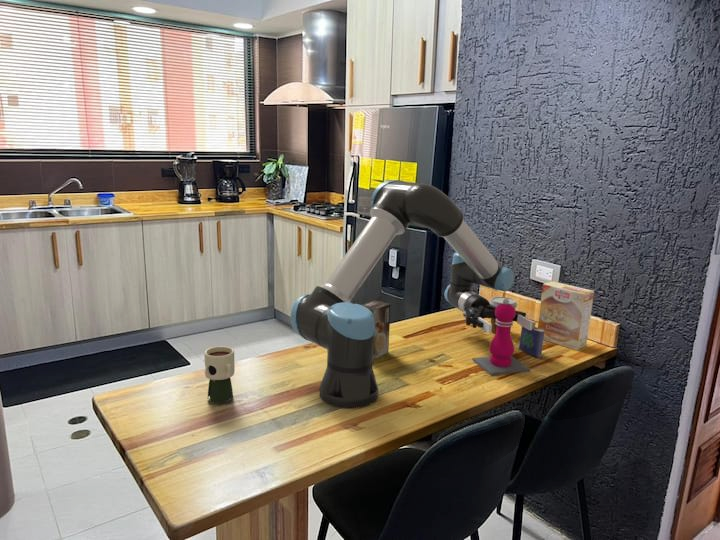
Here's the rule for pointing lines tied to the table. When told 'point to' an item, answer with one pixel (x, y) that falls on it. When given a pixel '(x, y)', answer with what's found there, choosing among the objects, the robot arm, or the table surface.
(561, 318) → the coffeecake box
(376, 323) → the coffee box
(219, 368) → the character mug
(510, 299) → the disposable coffee cup
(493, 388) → the table surface
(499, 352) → the pepper mill
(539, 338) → the flask
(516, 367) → the charcoal mat
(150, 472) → the table surface
